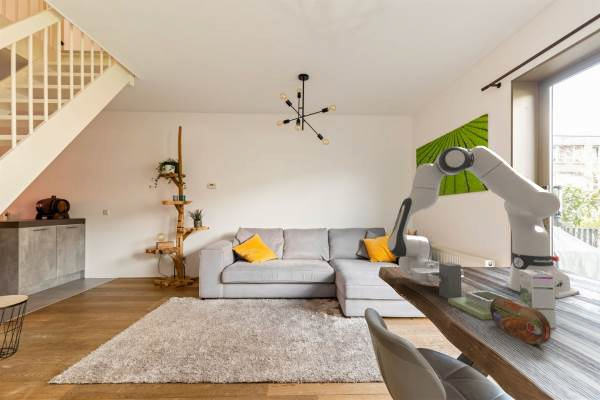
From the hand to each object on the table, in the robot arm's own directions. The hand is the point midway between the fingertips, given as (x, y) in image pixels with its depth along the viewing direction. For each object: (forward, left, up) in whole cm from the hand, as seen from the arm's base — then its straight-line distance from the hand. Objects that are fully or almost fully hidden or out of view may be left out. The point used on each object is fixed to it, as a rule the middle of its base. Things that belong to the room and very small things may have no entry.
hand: (451, 279), depth 97 cm
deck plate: (-3, +11, -7) cm, 13 cm away
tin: (+4, +28, -7) cm, 29 cm away
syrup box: (-8, +23, -7) cm, 26 cm away
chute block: (0, -1, -7) cm, 7 cm away
